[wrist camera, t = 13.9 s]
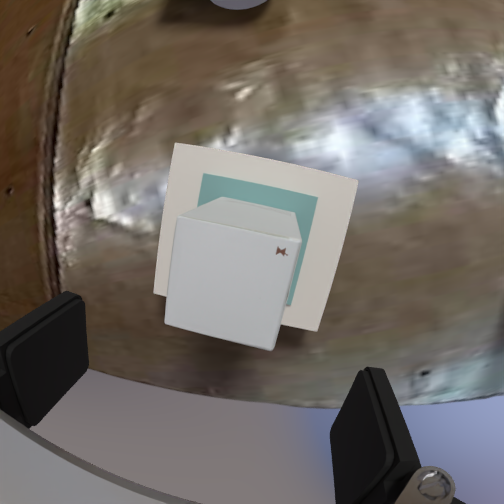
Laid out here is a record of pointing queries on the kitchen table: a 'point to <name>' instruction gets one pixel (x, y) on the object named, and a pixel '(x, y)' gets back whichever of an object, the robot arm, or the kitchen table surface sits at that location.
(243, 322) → the supplement box
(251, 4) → the wedge on round base
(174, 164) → the stand
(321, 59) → the kitchen table surface
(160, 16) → the kitchen table surface
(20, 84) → the kitchen table surface
